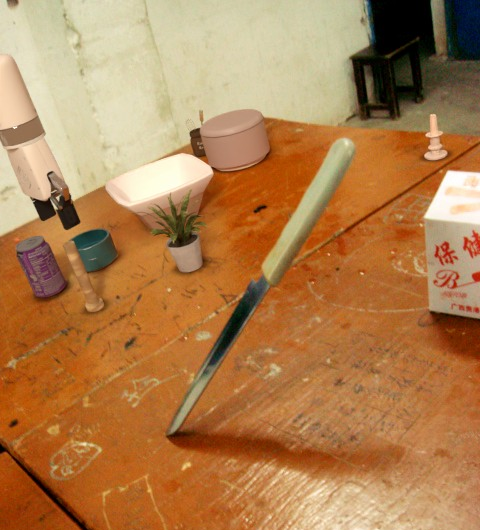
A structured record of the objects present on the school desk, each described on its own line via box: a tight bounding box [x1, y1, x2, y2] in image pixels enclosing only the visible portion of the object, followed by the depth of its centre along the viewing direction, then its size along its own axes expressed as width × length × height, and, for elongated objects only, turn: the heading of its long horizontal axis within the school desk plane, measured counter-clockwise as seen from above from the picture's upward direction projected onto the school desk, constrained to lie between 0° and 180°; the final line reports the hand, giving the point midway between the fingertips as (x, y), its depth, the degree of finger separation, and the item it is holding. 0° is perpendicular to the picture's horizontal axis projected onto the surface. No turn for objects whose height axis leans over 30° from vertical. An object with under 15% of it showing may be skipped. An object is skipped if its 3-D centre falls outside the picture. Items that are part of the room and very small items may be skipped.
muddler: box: [62, 240, 105, 313], centre depth 124 cm, size 4×4×15 cm
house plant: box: [130, 189, 208, 273], centre depth 128 cm, size 14×14×16 cm
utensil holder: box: [185, 109, 206, 157], centre depth 191 cm, size 6×6×12 cm
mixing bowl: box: [68, 227, 119, 273], centre depth 144 cm, size 10×10×6 cm
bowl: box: [104, 152, 214, 231], centre depth 155 cm, size 24×25×11 cm
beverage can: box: [14, 235, 67, 298], centre depth 136 cm, size 7×7×12 cm
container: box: [199, 108, 271, 172], centre depth 177 cm, size 18×18×12 cm
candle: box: [423, 113, 448, 161], centre depth 148 cm, size 5×5×10 cm
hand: (60, 222), depth 118 cm, fingers open, 9 cm apart
